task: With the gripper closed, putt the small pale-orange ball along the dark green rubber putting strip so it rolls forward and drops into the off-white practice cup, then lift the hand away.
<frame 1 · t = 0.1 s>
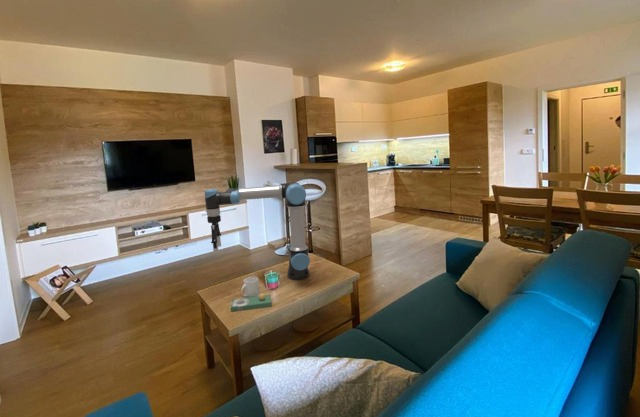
hand: (217, 249, 203), 28 cm above the table, fingers open, 13 cm apart
ball: (261, 296, 191), point 4 cm above the table, touching putting strip
mug: (250, 297, 201), on the table
putting strip: (251, 305, 191), on the table
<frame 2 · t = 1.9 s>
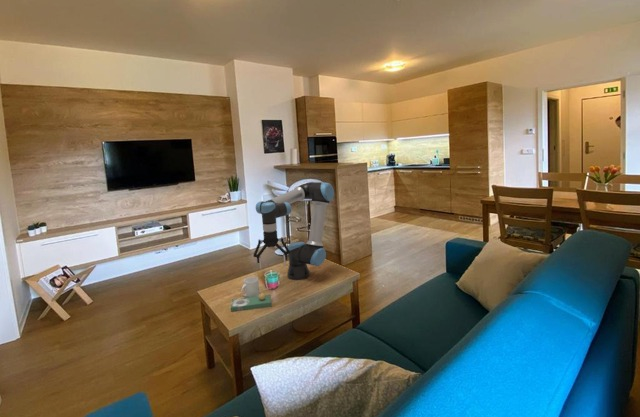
hand: (272, 266, 190), 21 cm above the table, fingers open, 13 cm apart
nothing on the table moved.
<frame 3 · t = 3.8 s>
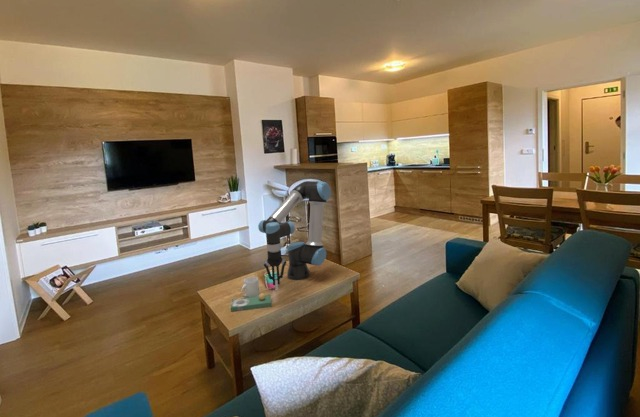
hand: (276, 290, 192), 7 cm above the table, fingers closed
nothing on the table moved.
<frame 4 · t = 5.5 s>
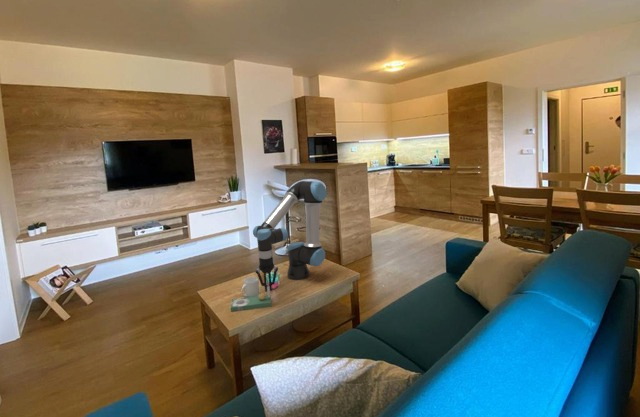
hand: (268, 296, 192), 4 cm above the table, fingers closed
nothing on the table moved.
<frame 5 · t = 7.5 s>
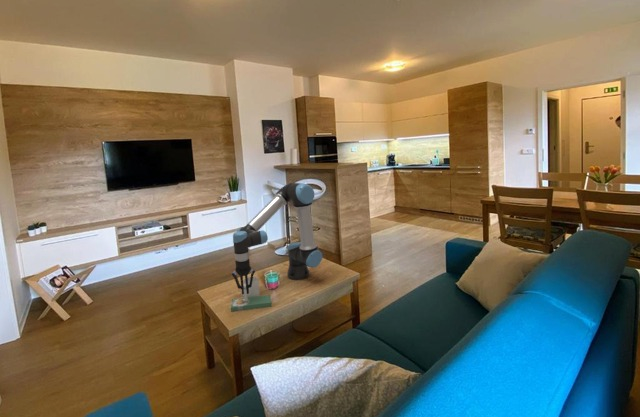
hand: (246, 299, 190), 4 cm above the table, fingers closed
ball: (239, 303, 189), point 2 cm above the table, tilted 94°
everything else where it was.
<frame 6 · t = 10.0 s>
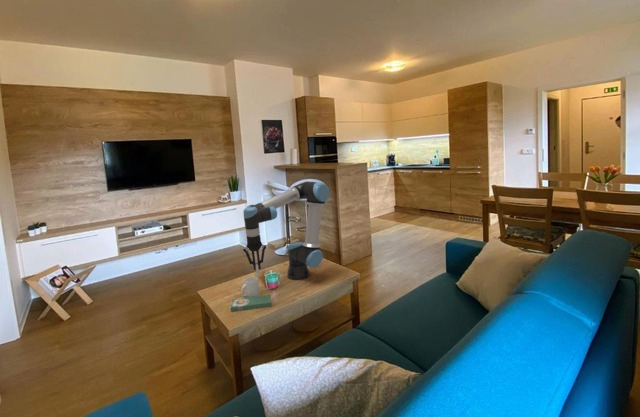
hand: (258, 274, 192), 16 cm above the table, fingers closed
ball: (241, 303, 190), point 2 cm above the table, tilted 60°
everything else where it was.
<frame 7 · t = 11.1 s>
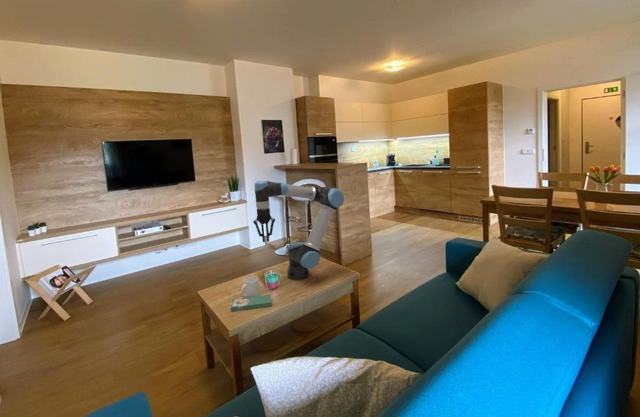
hand: (266, 246, 200), 29 cm above the table, fingers closed
ball: (241, 303, 190), point 2 cm above the table, tilted 55°
everything else where it was.
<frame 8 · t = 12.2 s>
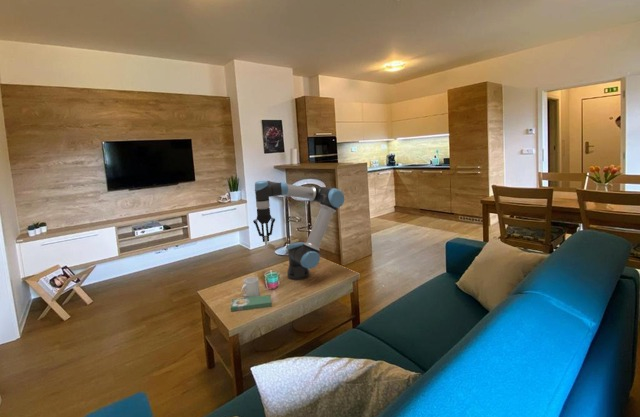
hand: (266, 246, 200), 29 cm above the table, fingers closed
nothing on the table moved.
at the end: ball 0.6 cm from the target spot in the putting strip, point 1.8 cm above the putting strip's base; ball touching table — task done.
